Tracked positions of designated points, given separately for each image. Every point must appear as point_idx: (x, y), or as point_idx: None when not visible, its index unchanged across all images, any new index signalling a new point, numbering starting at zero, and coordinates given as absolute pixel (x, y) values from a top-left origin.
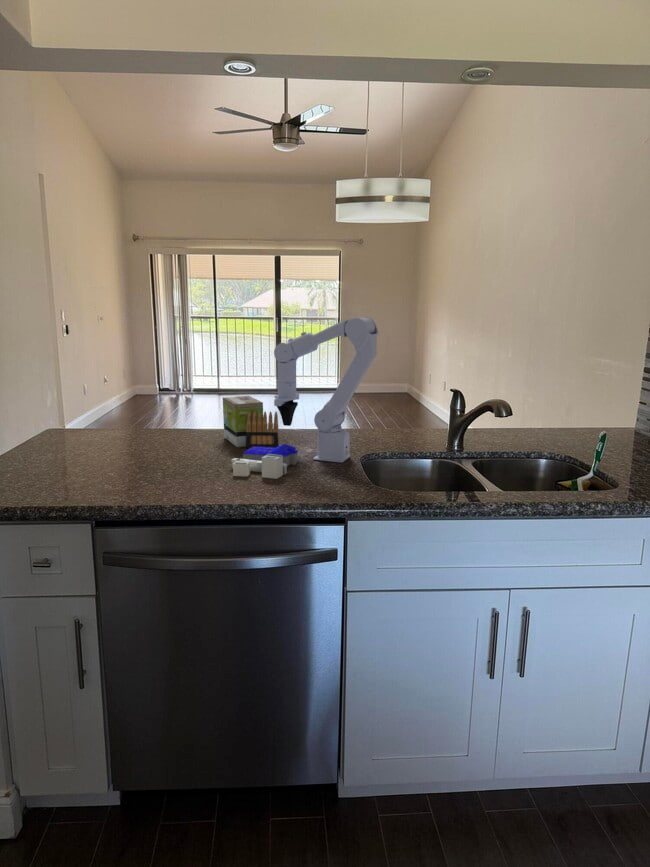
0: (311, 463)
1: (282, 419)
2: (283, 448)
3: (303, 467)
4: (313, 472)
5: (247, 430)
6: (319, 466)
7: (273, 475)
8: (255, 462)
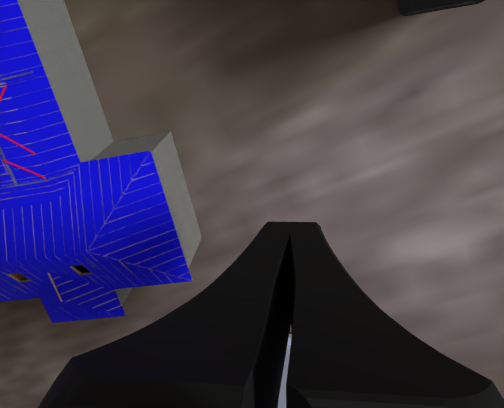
0: None
1: (245, 255)
2: (12, 272)
3: (66, 326)
4: (27, 380)
5: None
6: None
7: None
8: None
